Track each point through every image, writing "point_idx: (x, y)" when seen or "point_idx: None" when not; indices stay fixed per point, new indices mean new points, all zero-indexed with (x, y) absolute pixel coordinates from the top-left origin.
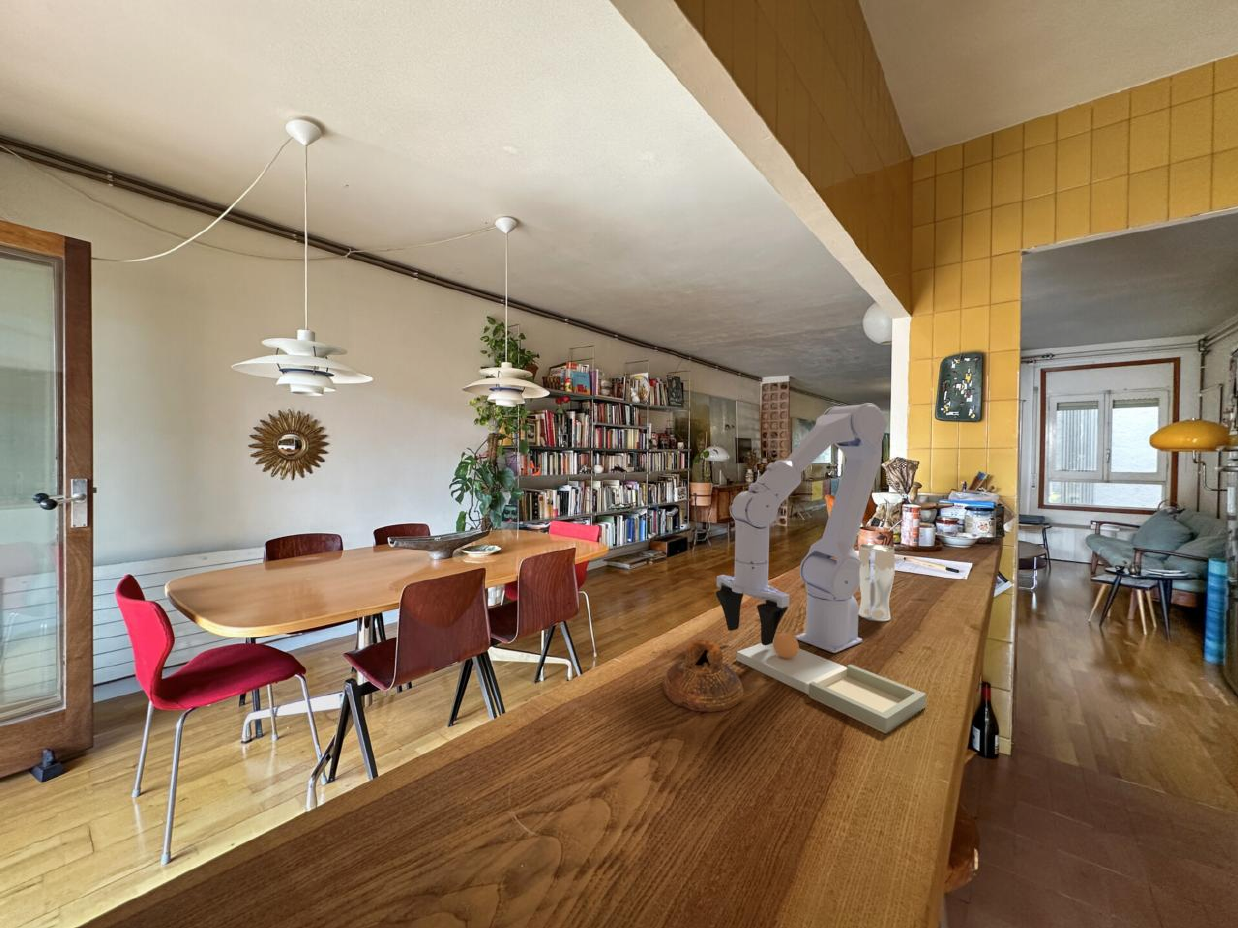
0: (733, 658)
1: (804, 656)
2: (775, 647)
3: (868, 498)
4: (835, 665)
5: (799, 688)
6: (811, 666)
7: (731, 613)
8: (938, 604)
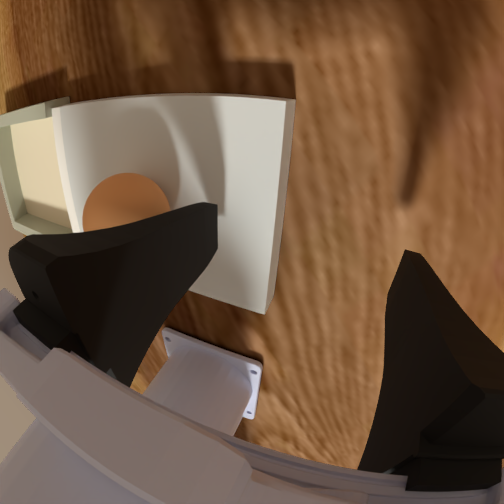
0: (316, 106)
1: None
2: (134, 179)
3: None
4: None
5: (83, 101)
6: None
7: (413, 320)
8: None
